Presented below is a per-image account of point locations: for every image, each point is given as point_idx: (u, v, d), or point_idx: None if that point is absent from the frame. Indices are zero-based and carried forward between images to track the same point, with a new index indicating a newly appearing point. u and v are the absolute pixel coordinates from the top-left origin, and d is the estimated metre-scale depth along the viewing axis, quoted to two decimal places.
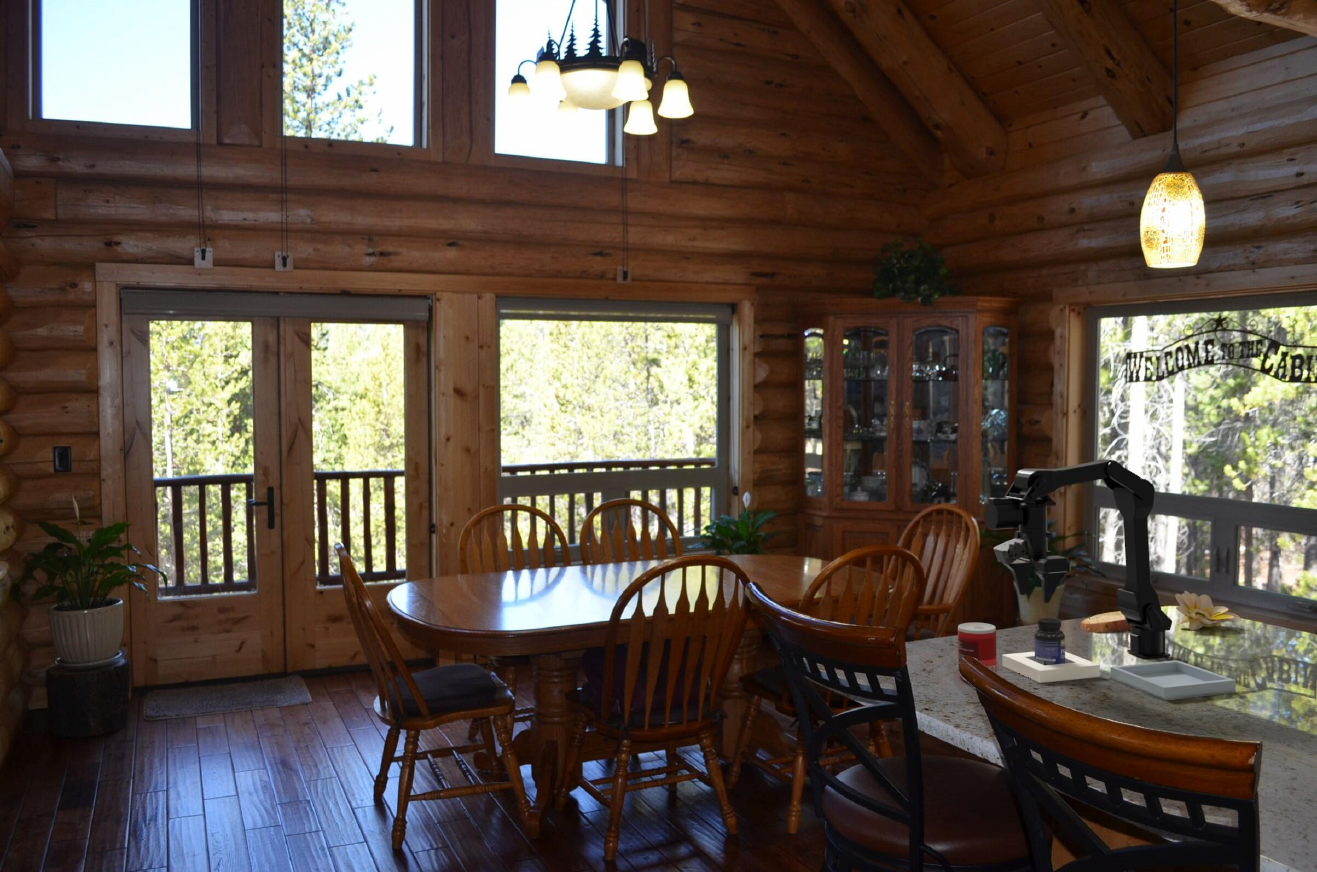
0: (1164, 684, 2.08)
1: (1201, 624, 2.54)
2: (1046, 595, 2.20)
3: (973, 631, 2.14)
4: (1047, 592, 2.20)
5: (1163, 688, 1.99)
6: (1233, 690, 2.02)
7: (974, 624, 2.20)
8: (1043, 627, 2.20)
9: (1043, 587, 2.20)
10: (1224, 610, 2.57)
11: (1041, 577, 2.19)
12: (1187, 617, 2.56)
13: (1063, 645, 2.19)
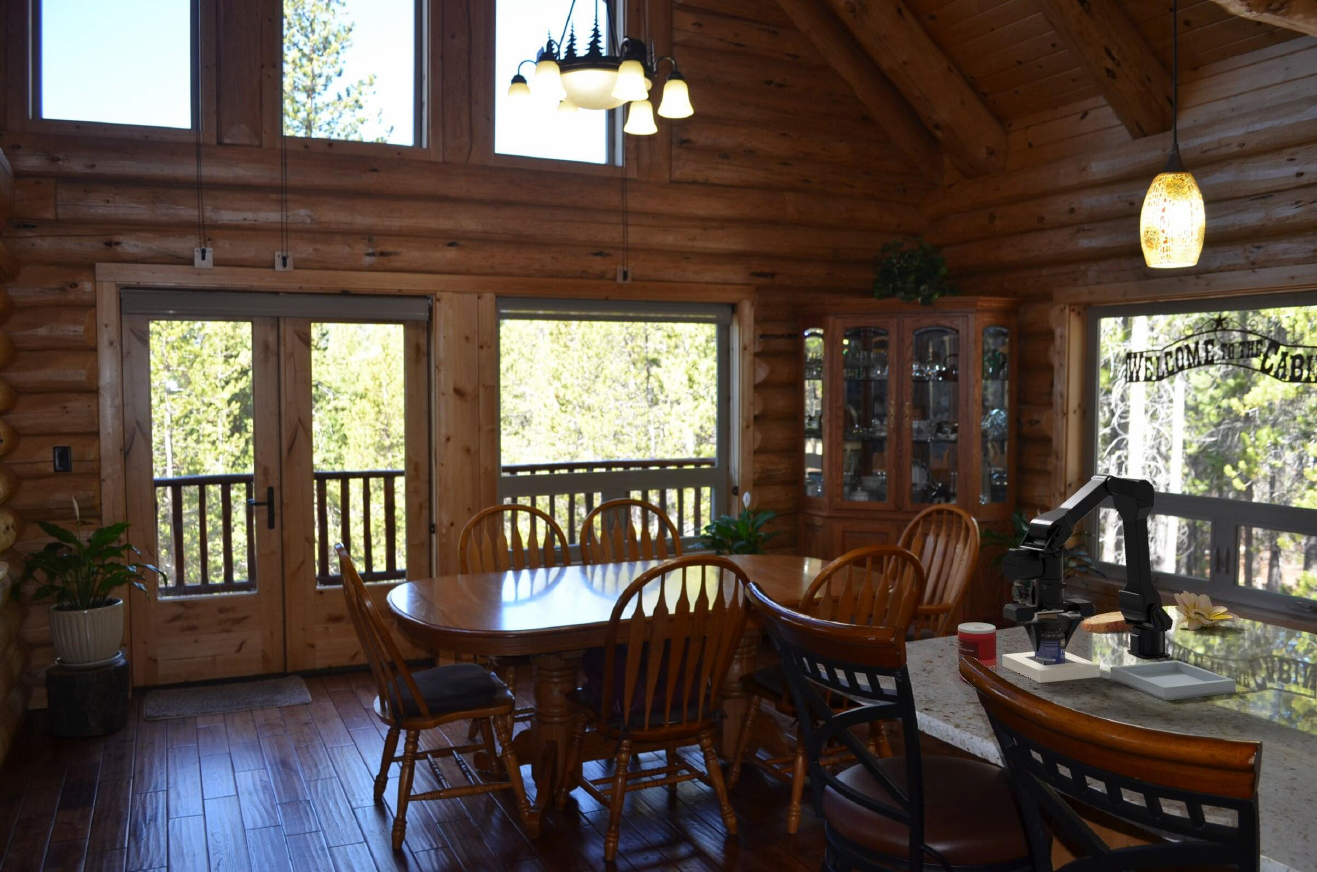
0: (1164, 684, 2.08)
1: (1200, 624, 2.54)
2: (1032, 643, 2.21)
3: (973, 631, 2.14)
4: (1031, 640, 2.21)
5: (1163, 688, 1.99)
6: (1233, 690, 2.02)
7: (974, 624, 2.20)
8: (1043, 627, 2.20)
9: None
10: (1222, 610, 2.57)
11: None
12: (1186, 617, 2.56)
13: (1063, 645, 2.19)
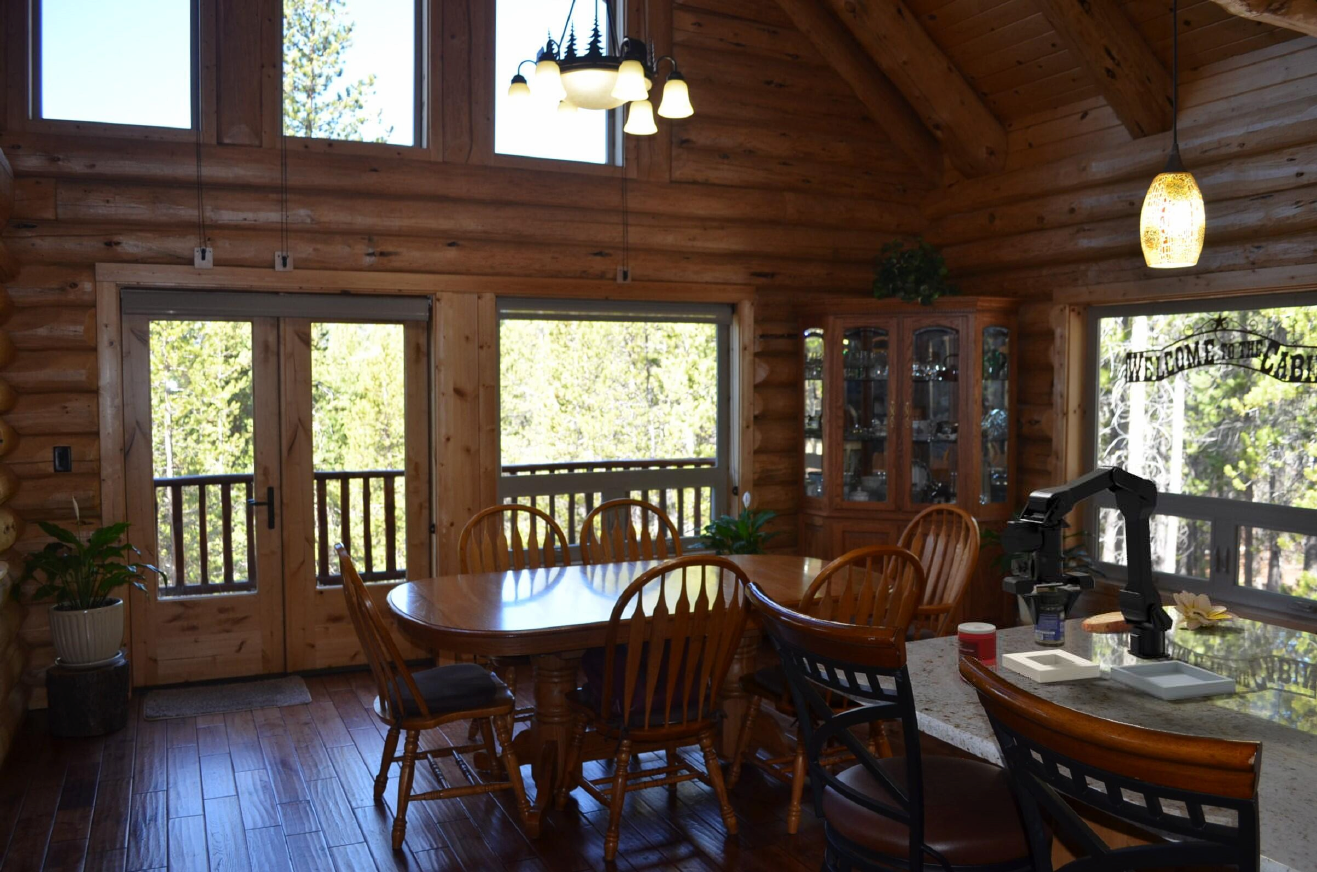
0: (1164, 684, 2.08)
1: (1199, 624, 2.55)
2: (1031, 616, 2.21)
3: (973, 631, 2.14)
4: (1030, 613, 2.20)
5: (1163, 688, 1.99)
6: (1233, 690, 2.02)
7: (974, 624, 2.20)
8: (1042, 600, 2.20)
9: None
10: (1221, 610, 2.58)
11: None
12: (1185, 617, 2.56)
13: (1062, 618, 2.19)
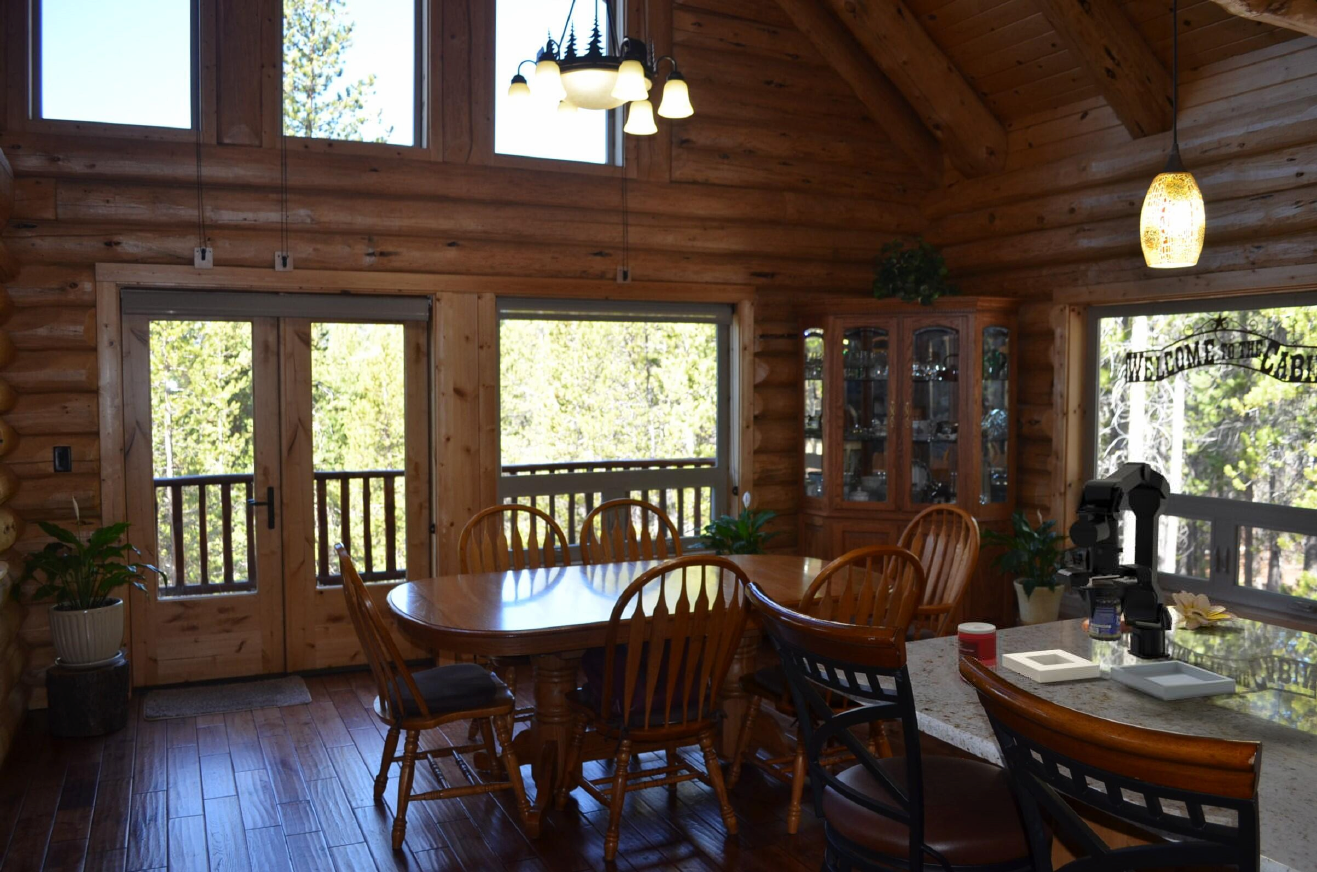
0: (1164, 684, 2.08)
1: (1198, 623, 2.55)
2: (1086, 609, 2.15)
3: (973, 631, 2.14)
4: (1086, 606, 2.14)
5: (1163, 688, 1.99)
6: (1233, 690, 2.02)
7: (974, 624, 2.20)
8: (1098, 593, 2.13)
9: None
10: (1221, 610, 2.58)
11: None
12: (1184, 616, 2.57)
13: (1119, 611, 2.13)
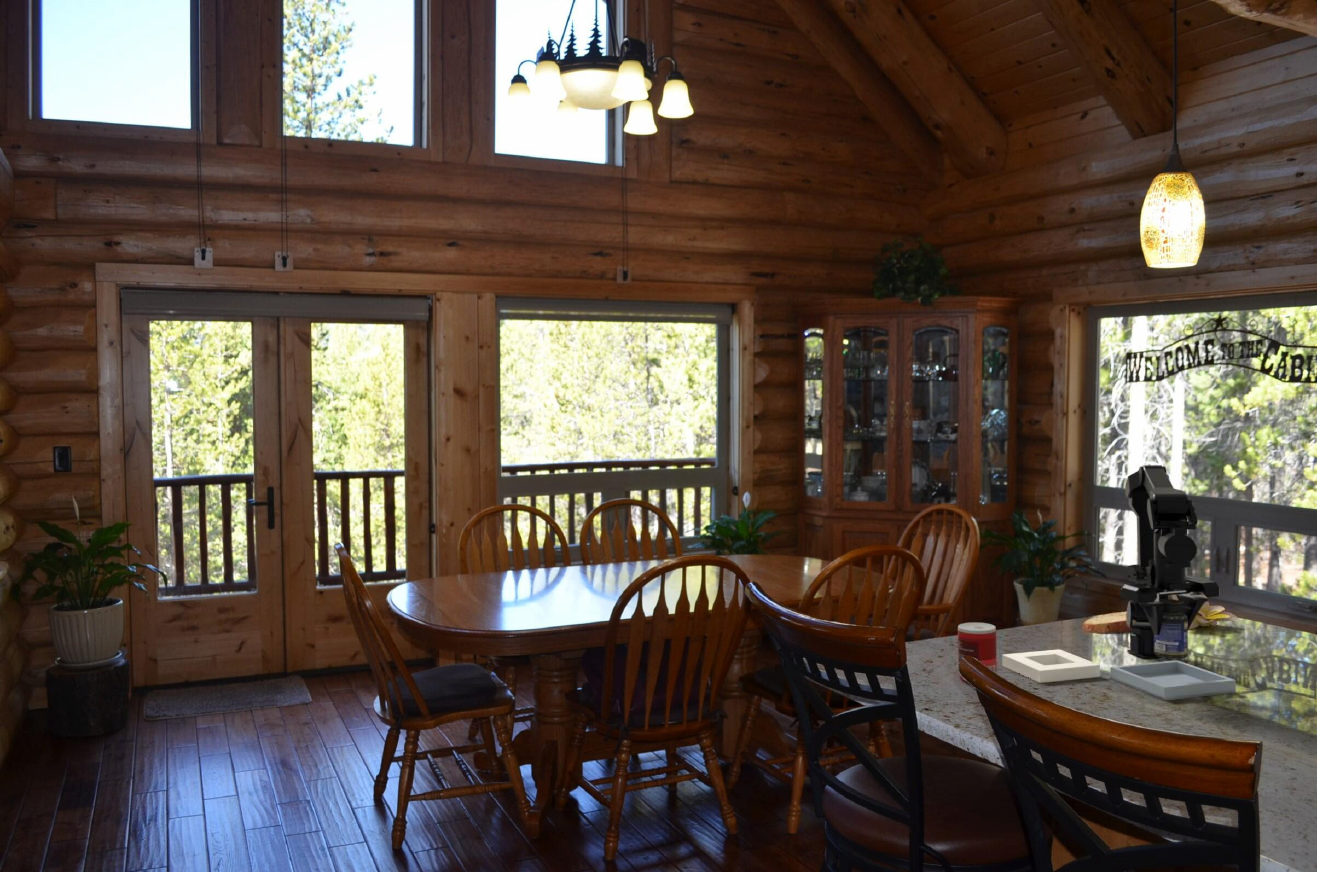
0: (1164, 684, 2.08)
1: (1197, 623, 2.55)
2: (1152, 625, 2.08)
3: (973, 631, 2.14)
4: (1151, 622, 2.08)
5: (1163, 688, 1.99)
6: (1233, 690, 2.02)
7: (974, 624, 2.20)
8: (1165, 608, 2.07)
9: None
10: (1220, 609, 2.58)
11: None
12: None
13: (1186, 628, 2.06)
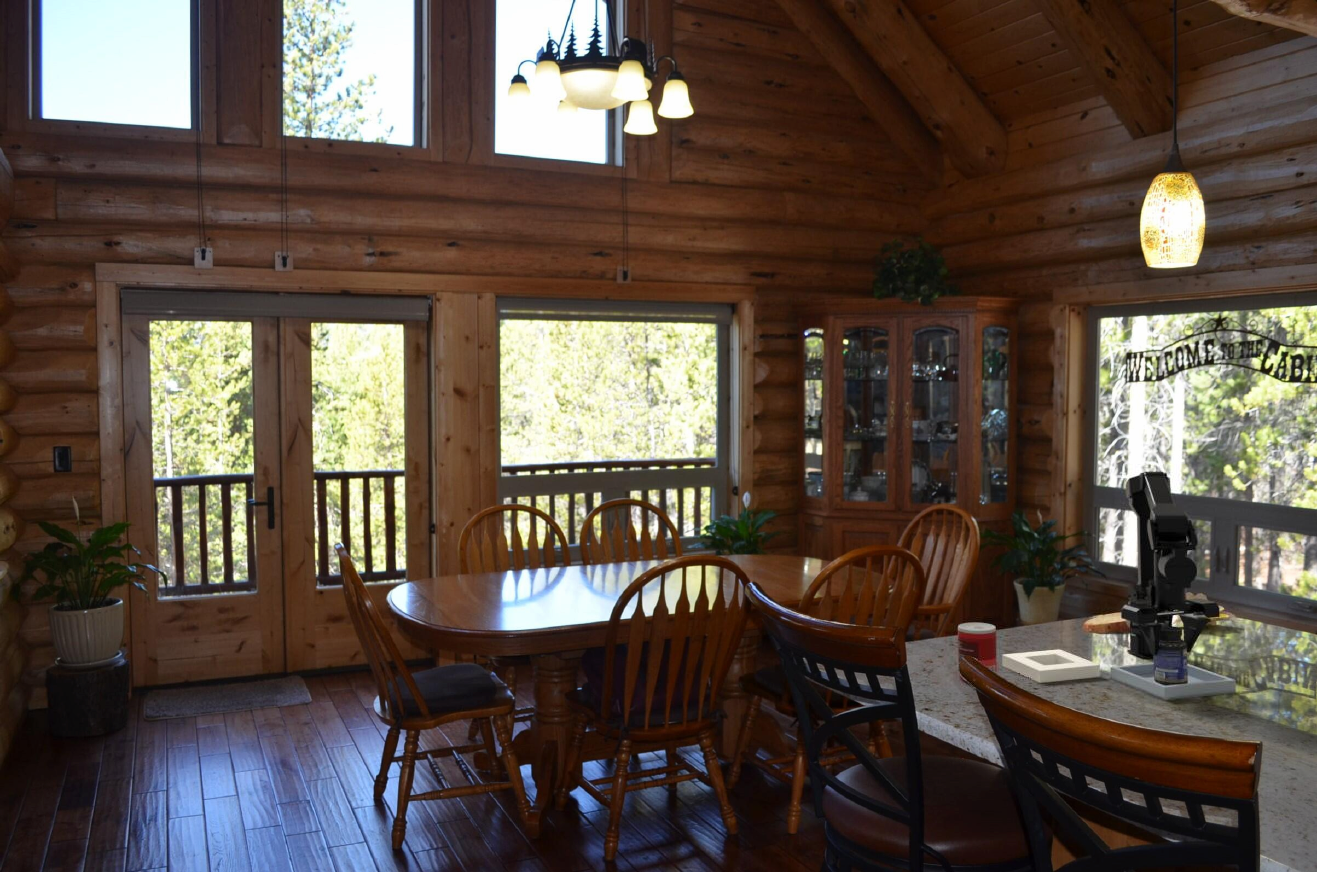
0: None
1: None
2: (1149, 646, 2.08)
3: (973, 631, 2.14)
4: (1149, 643, 2.07)
5: (1163, 688, 1.99)
6: (1233, 690, 2.02)
7: (974, 624, 2.20)
8: (1163, 636, 2.07)
9: None
10: None
11: None
12: None
13: (1185, 655, 2.06)
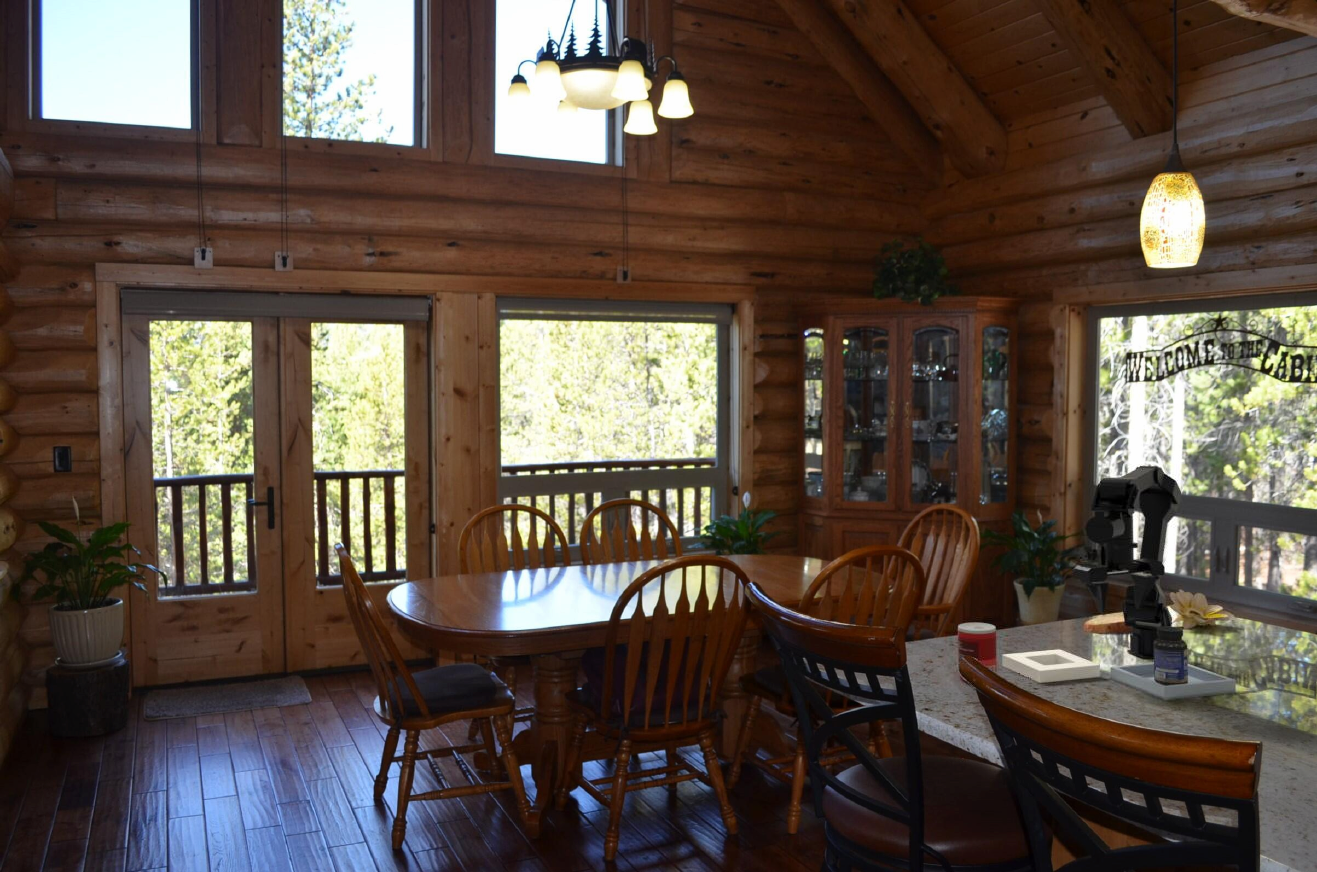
0: None
1: (1195, 623, 2.56)
2: (1097, 604, 2.19)
3: (973, 631, 2.14)
4: (1096, 601, 2.19)
5: (1163, 688, 1.99)
6: (1233, 690, 2.02)
7: (974, 624, 2.20)
8: (1164, 636, 2.07)
9: None
10: (1218, 609, 2.59)
11: None
12: (1181, 616, 2.58)
13: (1186, 655, 2.06)
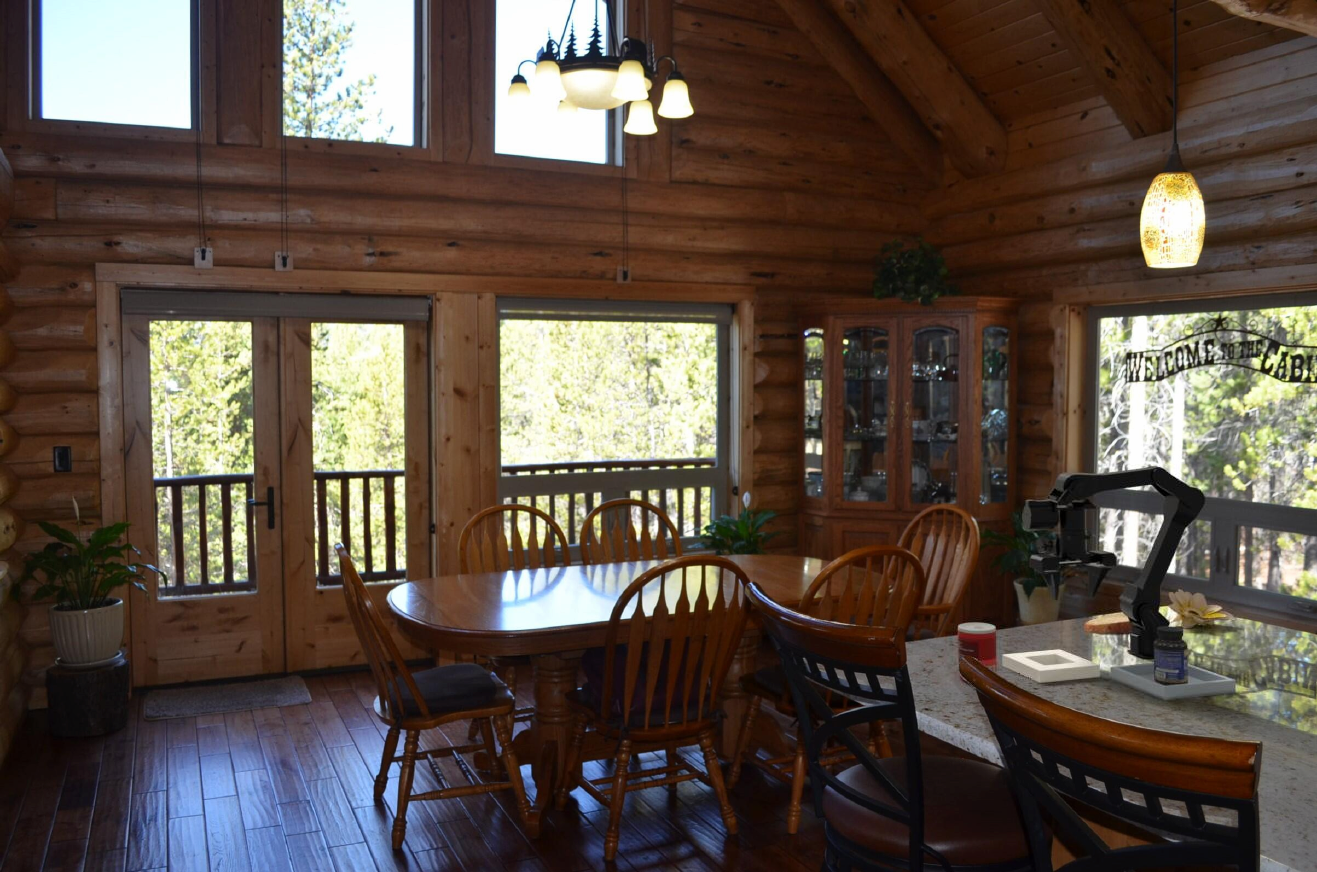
0: None
1: (1194, 622, 2.56)
2: (1051, 592, 2.32)
3: (973, 631, 2.14)
4: (1050, 589, 2.31)
5: (1163, 688, 1.99)
6: (1233, 690, 2.02)
7: (974, 624, 2.20)
8: (1164, 636, 2.07)
9: None
10: (1217, 609, 2.59)
11: None
12: (1180, 615, 2.58)
13: (1186, 655, 2.06)
